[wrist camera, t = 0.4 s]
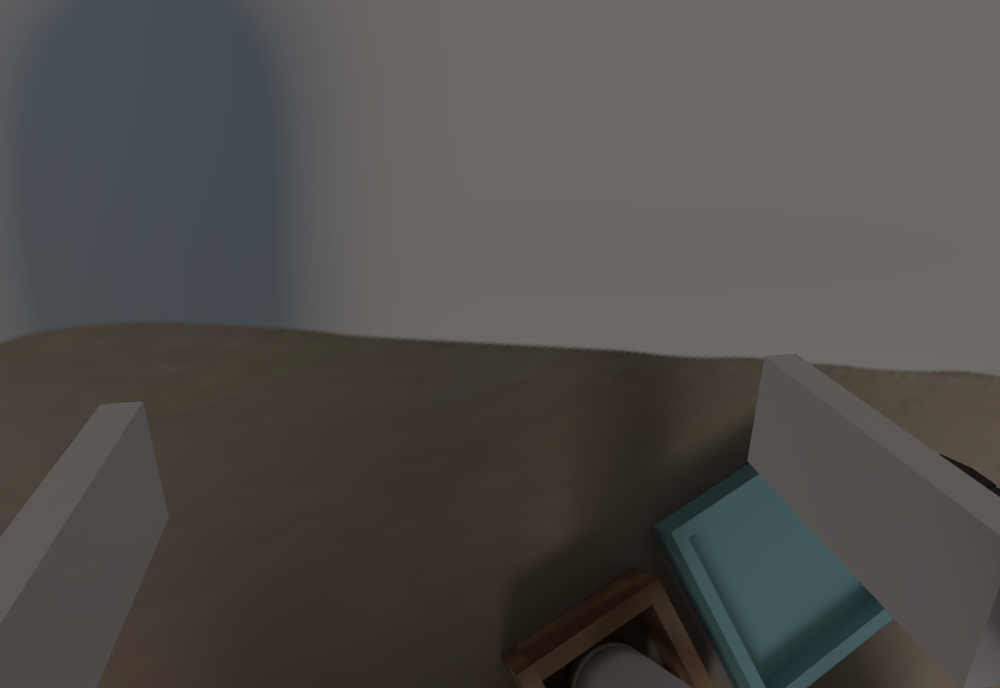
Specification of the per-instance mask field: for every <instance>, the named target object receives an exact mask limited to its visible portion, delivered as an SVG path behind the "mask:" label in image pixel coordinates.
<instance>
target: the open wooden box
mask: <svg viewBox="0 0 1000 688" xmlns="http://www.w3.org/2000/svg"><path fill="white" fill-rule="evenodd" d="M638 614H639V615H640V617H641V619H642V621H643V623H644V625H645V627H646V629H647V631H648V633H649V635H650V637H651V639H652V641H653V643H654V644H655V646H656V648H657V650H658V652H659V654H660V656H661V658H662V660H663V662H664V664H665V666H666V668H667V670H668V671H669V672H670V673H671V674H673V675H674V676H676V677H677V678H679V679H680V680H682V681H683V682H685V683H686V684H688V685H689V686H691V687H692V688H715V687H714V685H713V683H712V681H711V679H710V677H709V675H708V673H707V671H706V669H705V667H704V665H703V663H702V661H701V659H700V658H699V656H698V654H697V652H696V650H695V648H694V646H693V644H692V642H691V640H690V638H689V636H688V634H687V632H686V630H685V629H684V627H683V625H682V623H681V621H680V619H679V617H678V615H677V613H676V611H675V609H674V607H673V605H672V603H671V601H670V599H669V598H668V596H667V594H666V592H665V590H664V588H663V586H662V584H661V582H660V580H659V578H657V577H654V576H652V575H650V574H647V573H645V572H643V571H640V570H638V569H636V568H631V569H630V570H628V571H627V572H625V573H624V574H622V575H621V576H619V577H618V578H616V579H615V580H613V581H612V582H610V583H609V584H607V585H606V586H604V587H603V588H601V589H600V590H598V591H597V592H595V593H594V594H592V595H591V596H589V597H588V598H586V599H585V600H583V601H582V602H580V603H579V604H577V605H576V606H574V607H573V608H571V609H570V610H568V611H567V612H565V613H564V614H562V615H561V616H559V617H558V618H557V619H555V620H554V621H552V622H551V623H549V624H548V625H546V626H545V627H543V628H542V629H540V630H539V631H537V632H536V633H534V634H533V635H531V636H530V637H528V638H527V639H525V640H524V641H522V642H521V643H519V644H518V645H516V646H515V647H513V648H512V649H510V650H509V651H507V652H506V653H504V654H503V655H501V658H502V660H503V661H504V663H505V665H506V667H507V669H508V671H509V673H510V675H511V677H512V679H513V681H514V683H515V685H516V686H517V688H545V686H544V684H543V682H542V681H543V680H545V679H546V678H547V677H549V676H550V675H552V674H553V673H555V672H556V671H557V670H559V669H560V668H562V667H563V666H565V665H566V664H568V663H569V662H570V661H572V660H573V659H575V658H576V657H578V656H579V655H580V654H582V653H583V652H585V651H586V650H588V649H589V648H591V647H592V646H593V645H595V644H596V643H598V642H599V641H601V640H602V639H603V638H605V637H606V636H608V635H609V634H611V633H612V632H614V631H615V630H616V629H618V628H619V627H621V626H622V625H624V624H625V623H626V622H628V621H629V620H631V619H632V618H634V617H635V616H637V615H638Z"/></svg>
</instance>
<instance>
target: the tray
mask: <svg viewBox="0 0 1000 688" xmlns="http://www.w3.org/2000/svg"><path fill="white" fill-rule="evenodd" d="M652 529H653V531H654V533H655V535H656V537H657V539H658V541H659V543H660V545H661V547H662V549H663V551H664V553H665V554H666V556H667V558H668V560H669V562H670V564H671V566H672V568H673V570H674V572H675V574H676V576H677V578H678V580H679V582H680V584H681V585H682V587H683V589H684V591H685V593H686V595H687V597H688V599H689V601H690V603H691V605H692V607H693V609H694V611H695V613H696V614H697V616H698V618H699V620H700V622H701V624H702V626H703V628H704V630H705V632H706V634H707V636H708V638H709V640H710V642H711V644H712V645H713V647H714V649H715V651H716V653H717V655H718V657H719V659H720V661H721V663H722V665H723V667H724V669H725V671H726V673H727V675H728V676H729V678H730V680H731V682H732V684H733V686H734V688H807V687H809V686H810V685H811V684H812V683H814V682H815V681H816V680H817V679H819V678H820V677H821V676H822V675H824V674H825V673H826V672H827V671H829V670H830V669H831V668H832V667H834V666H835V665H836V664H837V663H838V662H840V661H841V660H842V659H843V658H845V657H846V656H847V655H848V654H850V653H851V652H852V651H853V650H855V649H856V648H857V647H858V646H860V645H861V644H862V643H863V642H865V641H866V640H867V639H868V638H870V637H871V636H872V635H873V634H875V633H876V632H877V631H878V630H880V629H881V628H882V627H883V626H885V625H886V624H887V623H888V622H890V621H891V620H892V619H893V617H892V616H891V614H890V613H889V612H888V611H887V610H886V609H885V608H884V607H883V606H882V605H881V604H880V603H879V602H878V601H877V599H876V598H875V597H874V596H873V595H872V594H871V593H870V592H869V591H868V590H867V589H866V588H865V587H864V585H863V584H862V583H861V582H860V581H859V580H858V579H857V578H856V577H855V576H854V575H853V574H852V573H851V572H850V570H849V569H848V568H847V567H846V566H845V565H844V564H843V563H842V562H841V561H840V560H839V559H838V558H837V557H836V555H835V554H834V553H833V552H832V551H831V550H830V549H829V548H828V547H827V546H826V545H825V544H824V543H823V542H822V540H821V539H820V538H819V537H818V536H817V535H816V534H815V533H814V532H813V531H812V530H811V529H810V528H809V527H808V525H807V524H806V523H805V522H804V521H803V520H802V519H801V518H800V517H799V516H798V515H797V514H796V513H795V512H794V510H793V509H792V508H791V507H790V506H789V505H788V504H787V503H786V502H785V501H784V500H783V499H782V498H781V496H780V495H779V494H778V493H777V492H776V491H775V490H774V489H773V488H772V487H771V486H770V485H769V484H768V483H767V481H766V480H765V479H764V478H763V477H762V476H761V475H760V474H759V473H758V472H757V471H756V470H755V469H754V468H753V466H752V465H751V464H750V463H748V464H747V465H745V466H744V467H742V468H741V469H739V470H738V471H736V472H735V473H733V474H732V475H730V476H729V477H727V478H726V479H724V480H722V481H721V482H719V483H718V484H716V485H715V486H713V487H712V488H710V489H709V490H707V491H706V492H704V493H703V494H701V495H700V496H698V497H697V498H695V499H694V500H692V501H690V502H689V503H687V504H686V505H684V506H683V507H681V508H680V509H678V510H677V511H675V512H674V513H672V514H671V515H669V516H668V517H666V518H665V519H663V520H661V521H660V522H658V523H657V524H655V525H654V526H652Z"/></svg>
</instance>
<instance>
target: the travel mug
mask: <svg viewBox="0 0 1000 688" xmlns="http://www.w3.org/2000/svg"><path fill="white" fill-rule="evenodd" d="M566 688H692V687H691V686H689V685H688V684H686V683H685V682H683V681H682V680H680V679H679V678H677V677H676V676H674V675H673V674H671V673H670V672H668V671H667V670H665V669H664V668H663V667H661V666H660V665H658V664H657V663H655V662H654V661H652V660H651V659H649V658H648V657H646V656H645V655H643V654H642V653H640V652H639V651H637V650H636V649H634V648H633V647H632V646H630V645H628V644H627V643H625V642H623V641H619V640H616V639H604V640H601V641H599V642H598V643H596V644H595V645H593V646H592V647H591V648H589V649H588V650H586V651H585V652H583V653H582V654H580V655H579V656H578V657H576V658H575V660H574V661H573V663H572V665H571V667H570V670H569V673H568V677H567V684H566Z"/></svg>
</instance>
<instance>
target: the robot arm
mask: <svg viewBox="0 0 1000 688" xmlns="http://www.w3.org/2000/svg"><path fill="white" fill-rule="evenodd" d="M747 461H748V462H749V463H750V464H751V465H752V466H753V468H754V469H755V470H756V471H757V472H758V473H759V474H760V475H761V476H762V477H763V478H764V479H765V480H766V481H767V483H768V484H769V485H770V486H771V487H772V488H773V489H774V490H775V491H776V492H777V493H778V494H779V495H780V496H781V498H782V499H783V500H784V501H785V502H786V503H787V504H788V505H789V506H790V507H791V508H792V509H793V510H794V512H795V513H796V514H797V515H798V516H799V517H800V518H801V519H802V520H803V521H804V522H805V523H806V524H807V525H808V527H809V528H810V529H811V530H812V531H813V532H814V533H815V534H816V535H817V536H818V537H819V538H820V539H821V540H822V542H823V543H824V544H825V545H826V546H827V547H828V548H829V549H830V550H831V551H832V552H833V553H834V554H835V555H836V557H837V558H838V559H839V560H840V561H841V562H842V563H843V564H844V565H845V566H846V567H847V568H848V569H849V570H850V572H851V573H852V574H853V575H854V576H855V577H856V578H857V579H858V580H859V581H860V582H861V583H862V584H863V585H864V587H865V588H866V589H867V590H868V591H869V592H870V593H871V594H872V595H873V596H874V597H875V598H876V599H877V601H878V602H879V603H880V604H881V605H882V606H883V607H884V608H885V609H886V610H887V611H888V612H889V613H890V614H891V616H892V617H893V618H894V619H895V620H896V621H897V622H898V623H899V624H900V625H901V626H902V627H903V628H904V629H905V631H906V632H907V633H908V634H909V635H910V636H911V637H912V638H913V639H914V640H915V641H916V642H917V643H918V644H919V646H920V647H921V648H922V649H923V650H924V651H925V652H926V653H927V654H928V655H929V656H930V657H931V658H932V659H933V661H934V662H935V663H936V664H937V665H938V666H939V667H940V668H941V669H942V670H943V671H944V672H945V673H946V674H947V676H948V677H949V678H950V679H951V680H952V681H953V682H954V683H955V684H956V685H957V686H958V687H959V688H985V687H991V686H997V685H1000V488H996V484H994V483H993V482H991V481H990V480H988V479H987V478H986V477H984V476H983V475H981V474H980V473H978V472H977V471H975V470H974V469H972V468H971V467H968V466H966V465H964V464H962V463H959V462H957V461H955V460H953V459H950V458H948V457H946V456H944V455H941V454H938V453H936V452H935V451H933V450H932V449H930V448H929V447H928V446H926V445H925V444H923V443H922V442H920V441H919V440H918V439H916V438H915V437H913V436H912V435H911V434H909V433H908V432H906V431H905V430H903V429H902V428H901V427H899V426H898V425H896V424H895V423H893V422H892V421H891V420H889V419H888V418H886V417H885V416H883V415H882V414H881V413H879V412H878V411H876V410H875V409H873V408H872V407H871V406H869V405H868V404H866V403H865V402H864V401H862V400H861V399H859V398H858V397H856V396H855V395H854V394H852V393H851V392H849V391H848V390H846V389H845V388H844V387H842V386H841V385H839V384H838V383H836V382H835V381H834V380H832V379H831V378H829V377H828V376H826V375H825V374H824V373H822V372H821V371H819V370H818V369H816V368H815V367H814V366H812V365H811V364H809V363H808V362H807V361H805V360H804V359H802V358H801V357H799V356H798V355H797V354H788V355H776V356H775V355H774V356H765V357H764V363H763V369H762V375H761V381H760V387H759V393H758V400H757V406H756V412H755V418H754V424H753V430H752V436H751V442H750V448H749V454H748V460H747ZM168 519H169V517H168V513H167V508H166V504H165V499H164V495H163V490H162V486H161V481H160V476H159V472H158V467H157V463H156V458H155V454H154V449H153V445H152V440H151V435H150V431H149V426H148V422H147V417H146V413H145V408H144V404H143V401H141V402H128V403H114V404H101V405H100V406H99V407H98V409H97V410H96V411H95V413H94V414H93V415H92V417H91V418H90V419H89V420H88V422H87V423H86V424H85V426H84V427H83V428H82V430H81V431H80V432H79V434H78V435H77V436H76V438H75V439H74V440H73V442H72V443H71V444H70V446H69V447H68V448H67V450H66V451H65V452H64V454H63V455H62V456H61V458H60V459H59V460H58V462H57V463H56V464H55V465H54V467H53V468H52V469H51V471H50V472H49V473H48V475H47V476H46V477H45V479H44V480H43V481H42V483H41V484H40V485H39V487H38V488H37V489H36V491H35V492H34V493H33V495H32V496H31V497H30V499H29V500H28V501H27V503H26V504H25V505H24V506H23V508H22V509H21V510H20V512H19V513H18V514H17V516H16V517H15V518H14V520H13V521H12V522H11V524H10V525H9V526H8V528H7V529H6V530H5V532H4V533H3V534H2V536H1V537H0V688H97V685H98V683H99V681H100V678H101V676H102V674H103V671H104V669H105V667H106V664H107V662H108V660H109V657H110V655H111V653H112V650H113V648H114V646H115V643H116V641H117V638H118V636H119V634H120V631H121V629H122V627H123V624H124V622H125V620H126V617H127V615H128V613H129V610H130V608H131V606H132V603H133V601H134V598H135V596H136V594H137V591H138V589H139V587H140V584H141V582H142V580H143V577H144V575H145V573H146V570H147V568H148V566H149V563H150V561H151V559H152V556H153V554H154V551H155V549H156V547H157V544H158V542H159V540H160V537H161V535H162V533H163V530H164V528H165V526H166V523H167V521H168Z"/></svg>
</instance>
